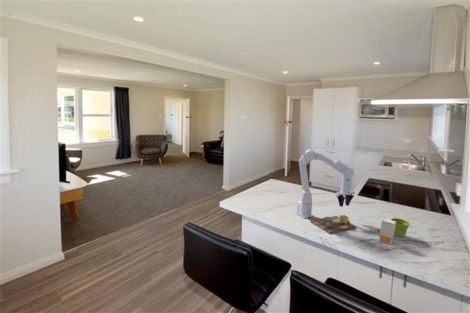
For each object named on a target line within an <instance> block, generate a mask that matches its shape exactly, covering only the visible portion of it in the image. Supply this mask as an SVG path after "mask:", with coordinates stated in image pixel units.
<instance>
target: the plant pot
mask: <svg viewBox="0 0 470 313" xmlns="http://www.w3.org/2000/svg"><path fill="white" fill-rule="evenodd" d="M390 220H392V221H395V222H396V226H395V233H394V238H398V239H404V238H405V237H406V233H407V231H408V229H409V226H411V223H410V221H408V220H406V219H404V218H403V219H402V218H397V217H393V218H392V217H391V218H390Z"/></svg>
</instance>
